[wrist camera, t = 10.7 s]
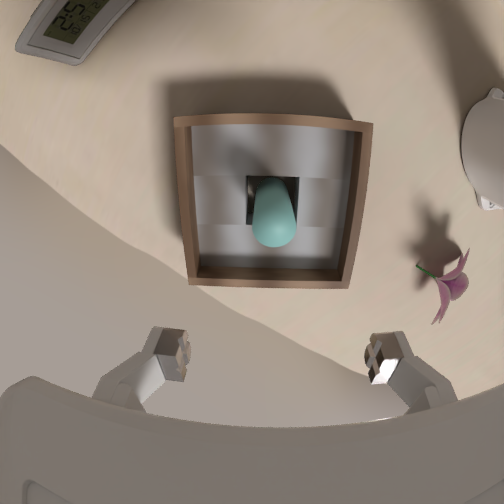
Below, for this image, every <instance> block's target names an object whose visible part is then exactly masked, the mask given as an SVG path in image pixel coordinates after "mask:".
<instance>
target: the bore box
mask: <svg viewBox="0 0 504 504" xmlns="http://www.w3.org/2000/svg"><path fill="white" fill-rule="evenodd" d="M173 119H174V142H175V159H176V173H177V186H178V198H179V208H180V218H181V227H182V236H183V244H184V252H185V260H186V268H187V275H188V282H189V285H203V286H226V287H256V288H305V289H348V288H349V283H350V279H351V275H352V270H353V265H354V261H355V256H356V251H357V246H358V240H359V235H360V229H361V224H362V218H363V211H364V205H365V198H366V191H367V183H368V175H369V167H370V157H371V147H372V134H373V123H368V122H362V121H355V120H347V119H339V118H330V117H320V116H309V115H294V114H270V113H230V114H205V115H191V116H179V117H173ZM248 175H251V176H289V177H296V182H295V199H294V217H295V221H296V233H295V235H294V237H293V238H292V240H291V241H290V242H288V243H287V244H285V245H283V246H280V247H268V246H265V245H263V244H261V243H260V242H259V241H258V240H257V239H256V238H255V236H254V234H253V231H252V223H253V214H254V213H248Z"/></svg>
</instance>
